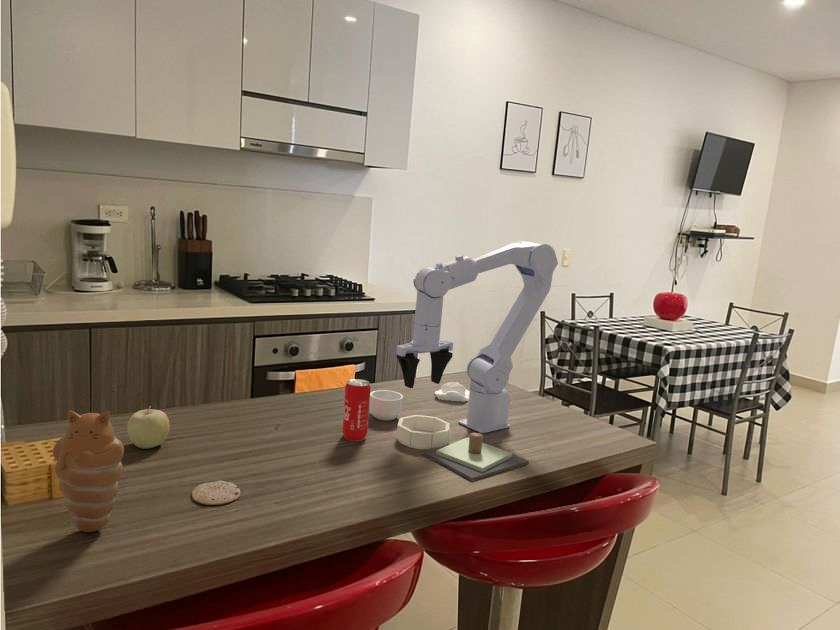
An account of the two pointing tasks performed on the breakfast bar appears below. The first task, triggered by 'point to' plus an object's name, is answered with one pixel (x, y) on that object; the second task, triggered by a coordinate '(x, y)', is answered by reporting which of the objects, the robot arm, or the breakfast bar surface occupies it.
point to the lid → (474, 453)
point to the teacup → (385, 404)
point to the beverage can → (356, 409)
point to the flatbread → (216, 493)
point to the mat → (473, 473)
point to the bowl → (422, 432)
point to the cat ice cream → (89, 469)
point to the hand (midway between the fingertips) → (422, 384)
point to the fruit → (148, 428)
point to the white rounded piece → (453, 392)
